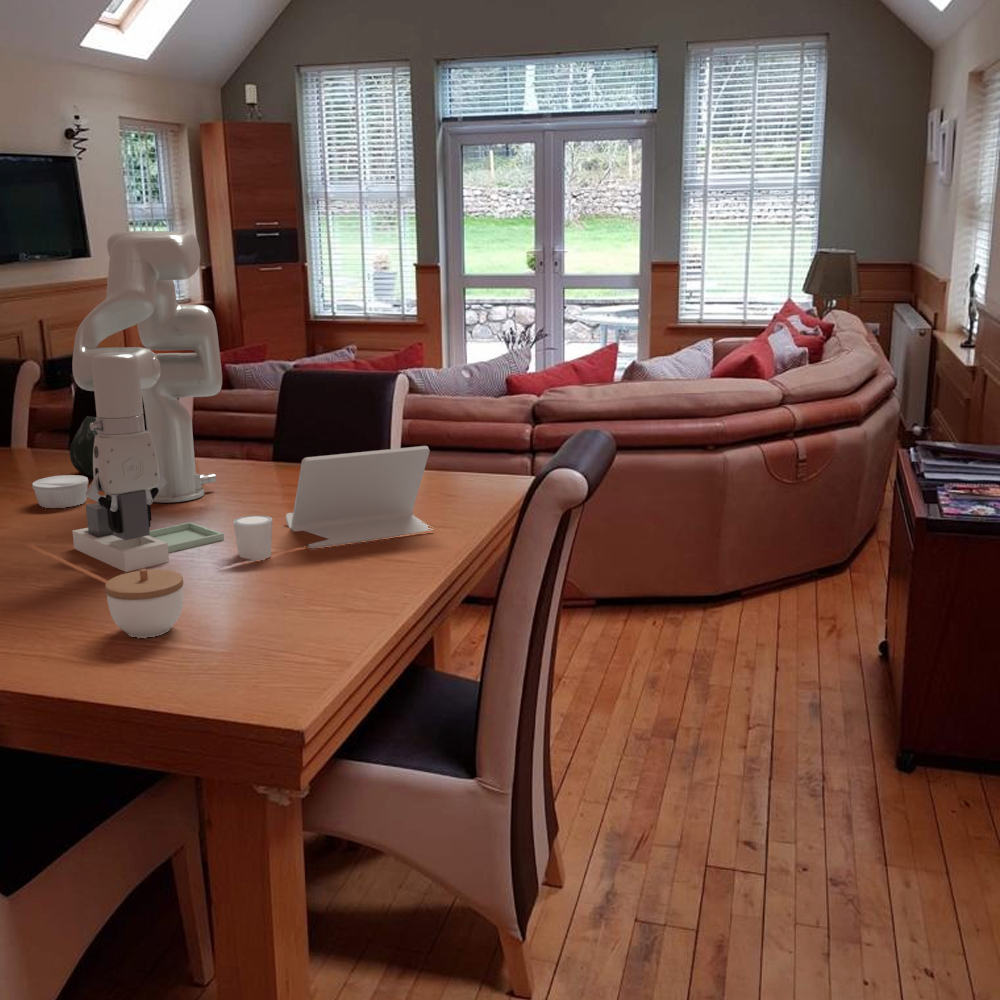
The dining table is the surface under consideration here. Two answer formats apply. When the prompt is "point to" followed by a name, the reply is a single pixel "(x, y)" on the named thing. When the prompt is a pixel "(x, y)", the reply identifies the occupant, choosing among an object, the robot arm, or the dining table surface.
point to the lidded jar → (145, 601)
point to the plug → (133, 515)
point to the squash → (83, 447)
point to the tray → (186, 536)
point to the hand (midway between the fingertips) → (130, 527)
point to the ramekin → (61, 491)
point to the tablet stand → (359, 495)
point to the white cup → (254, 537)
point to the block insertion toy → (117, 544)
